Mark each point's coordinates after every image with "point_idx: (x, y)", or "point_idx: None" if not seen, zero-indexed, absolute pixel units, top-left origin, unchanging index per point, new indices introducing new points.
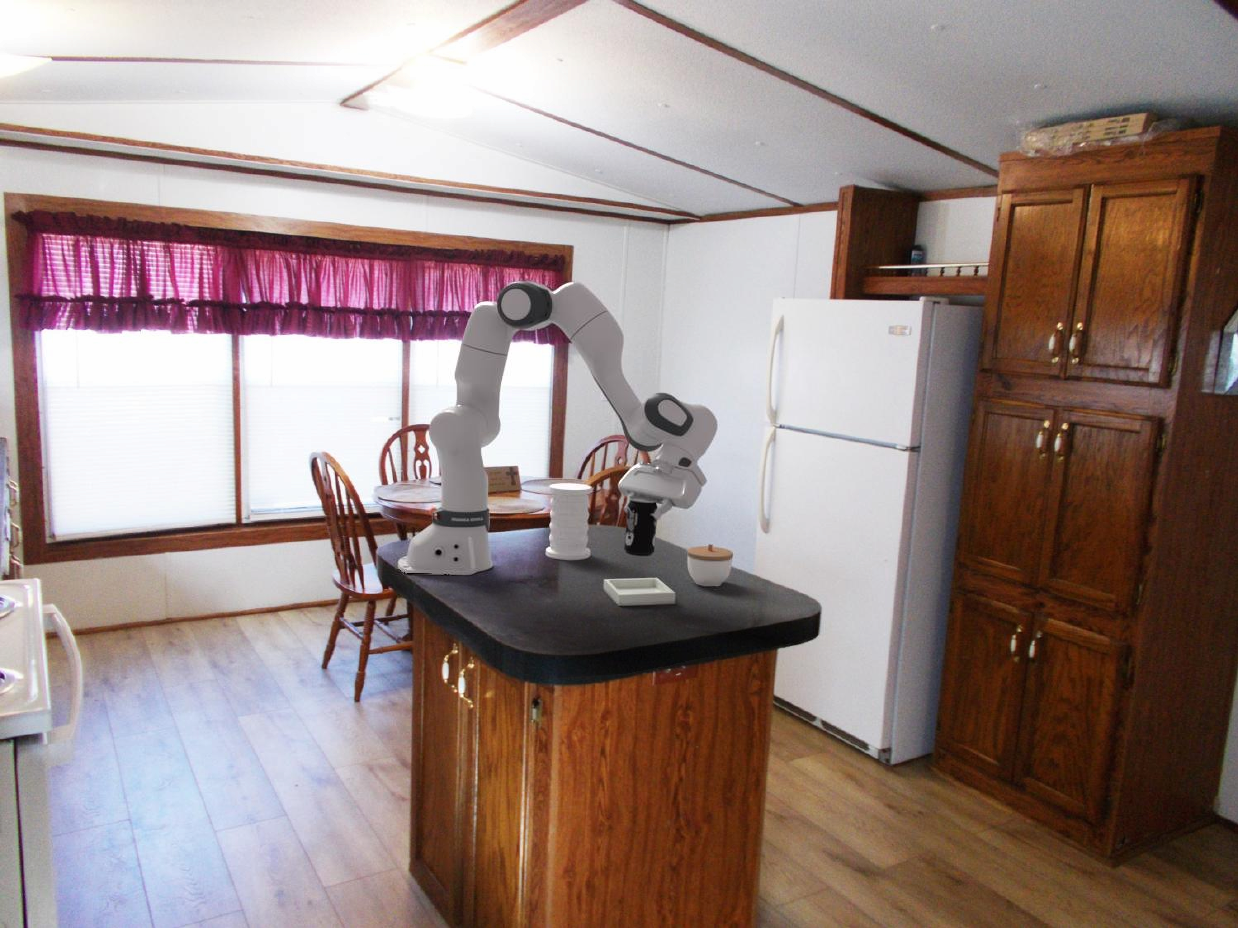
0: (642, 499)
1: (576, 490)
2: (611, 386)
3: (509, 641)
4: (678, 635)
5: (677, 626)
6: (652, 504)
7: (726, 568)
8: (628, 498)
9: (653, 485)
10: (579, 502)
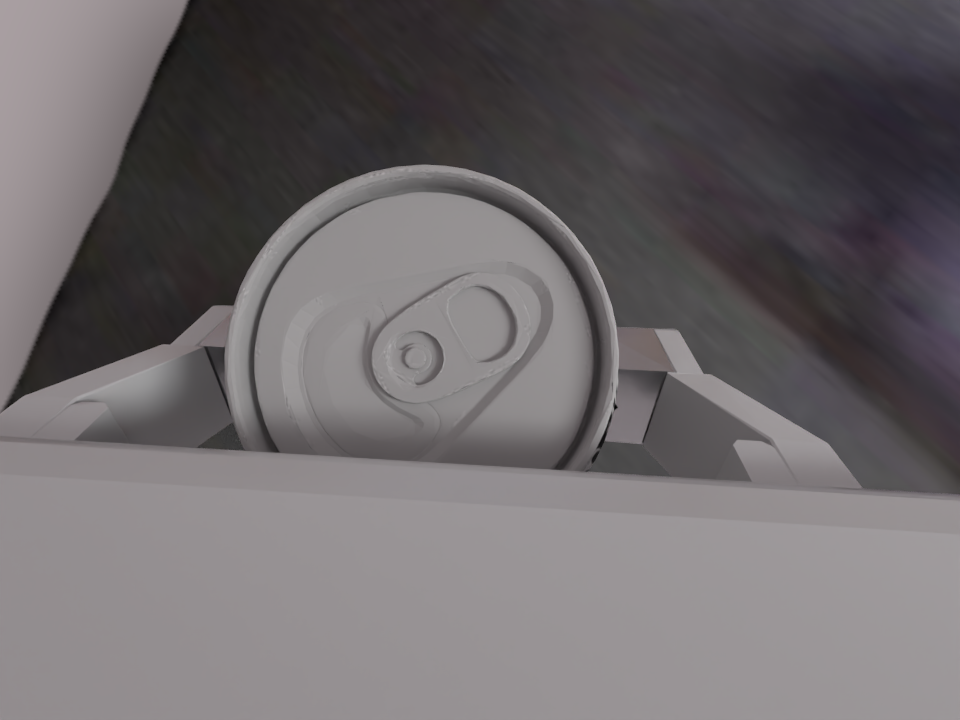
0: (511, 442)
1: None
2: None
3: None
4: (140, 191)
5: (186, 252)
6: (251, 342)
7: None
8: (748, 409)
9: (310, 674)
10: None
